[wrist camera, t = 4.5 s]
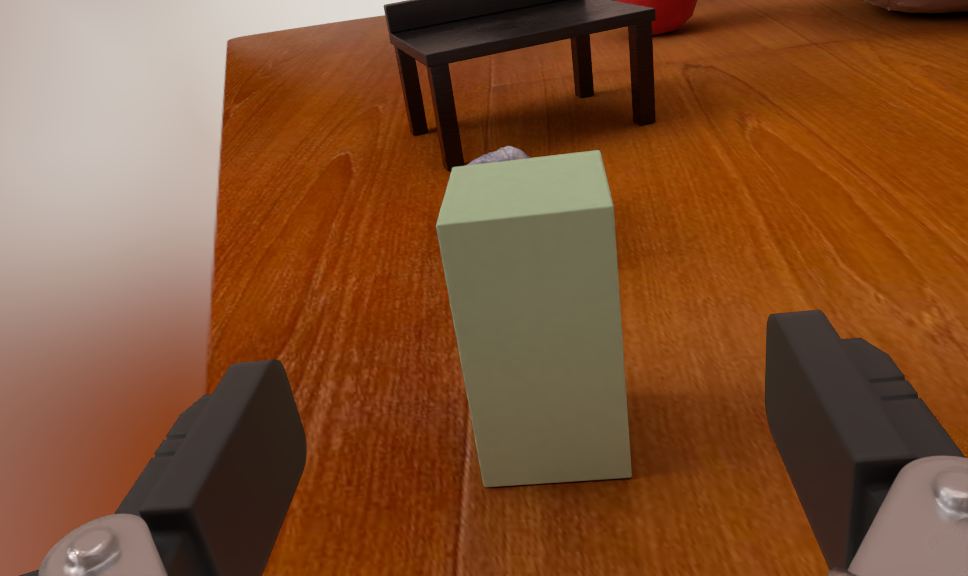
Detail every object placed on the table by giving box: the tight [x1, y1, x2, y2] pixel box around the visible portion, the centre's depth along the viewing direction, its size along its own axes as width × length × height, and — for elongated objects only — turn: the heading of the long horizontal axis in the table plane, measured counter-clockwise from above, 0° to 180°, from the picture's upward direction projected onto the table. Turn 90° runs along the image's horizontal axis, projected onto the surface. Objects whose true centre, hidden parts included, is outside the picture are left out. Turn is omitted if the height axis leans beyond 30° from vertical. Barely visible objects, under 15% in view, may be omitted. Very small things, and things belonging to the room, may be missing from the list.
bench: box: [384, 0, 656, 171], centre depth 56 cm, size 16×12×10 cm
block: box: [436, 150, 632, 487], centre depth 24 cm, size 5×5×9 cm
